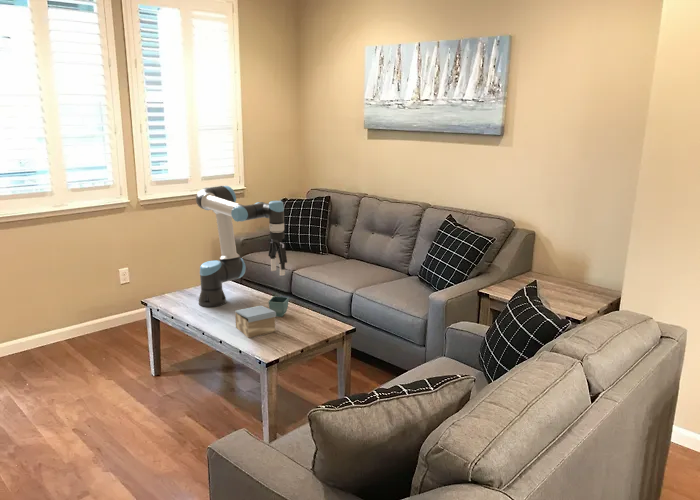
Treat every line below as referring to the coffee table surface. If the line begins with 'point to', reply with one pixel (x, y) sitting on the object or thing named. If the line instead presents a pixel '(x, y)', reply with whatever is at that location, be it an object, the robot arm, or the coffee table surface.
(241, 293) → the coffee table surface
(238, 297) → the coffee table surface
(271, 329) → the crate
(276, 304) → the flower pot
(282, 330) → the coffee table surface
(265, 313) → the lid
